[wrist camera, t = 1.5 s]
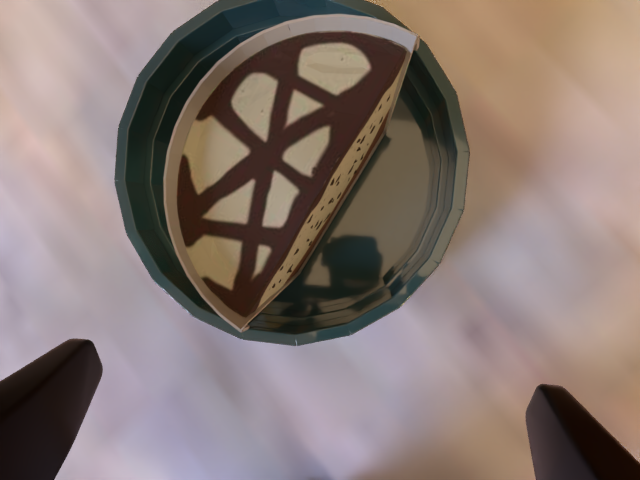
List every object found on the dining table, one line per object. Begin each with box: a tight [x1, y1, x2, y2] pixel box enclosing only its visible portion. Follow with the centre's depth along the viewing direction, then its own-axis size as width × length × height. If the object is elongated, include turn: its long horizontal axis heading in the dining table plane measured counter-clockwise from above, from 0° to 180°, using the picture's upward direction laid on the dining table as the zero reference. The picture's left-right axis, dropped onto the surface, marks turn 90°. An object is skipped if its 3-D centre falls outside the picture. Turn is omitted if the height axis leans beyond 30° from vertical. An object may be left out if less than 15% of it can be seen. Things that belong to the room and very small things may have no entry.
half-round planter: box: [163, 14, 420, 332], centre depth 19 cm, size 12×6×10 cm, turn 149°
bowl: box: [115, 0, 470, 346], centre depth 22 cm, size 17×17×4 cm
